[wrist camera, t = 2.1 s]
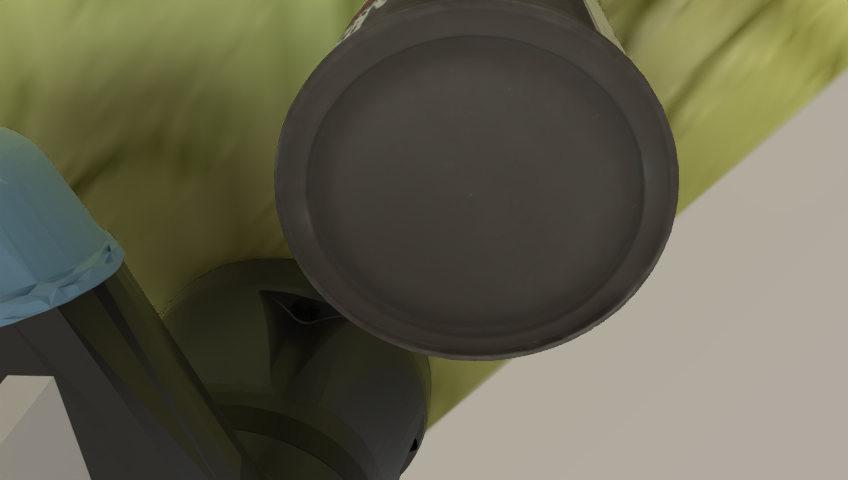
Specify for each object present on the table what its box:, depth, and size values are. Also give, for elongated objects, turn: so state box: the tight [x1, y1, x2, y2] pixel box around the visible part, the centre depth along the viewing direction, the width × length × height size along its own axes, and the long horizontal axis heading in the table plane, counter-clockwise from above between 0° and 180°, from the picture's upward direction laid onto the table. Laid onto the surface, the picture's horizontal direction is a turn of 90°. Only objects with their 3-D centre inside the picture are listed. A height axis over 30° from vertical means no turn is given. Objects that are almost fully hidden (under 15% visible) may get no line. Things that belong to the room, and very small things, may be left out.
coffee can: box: [274, 0, 679, 361], centre depth 25 cm, size 10×10×14 cm
